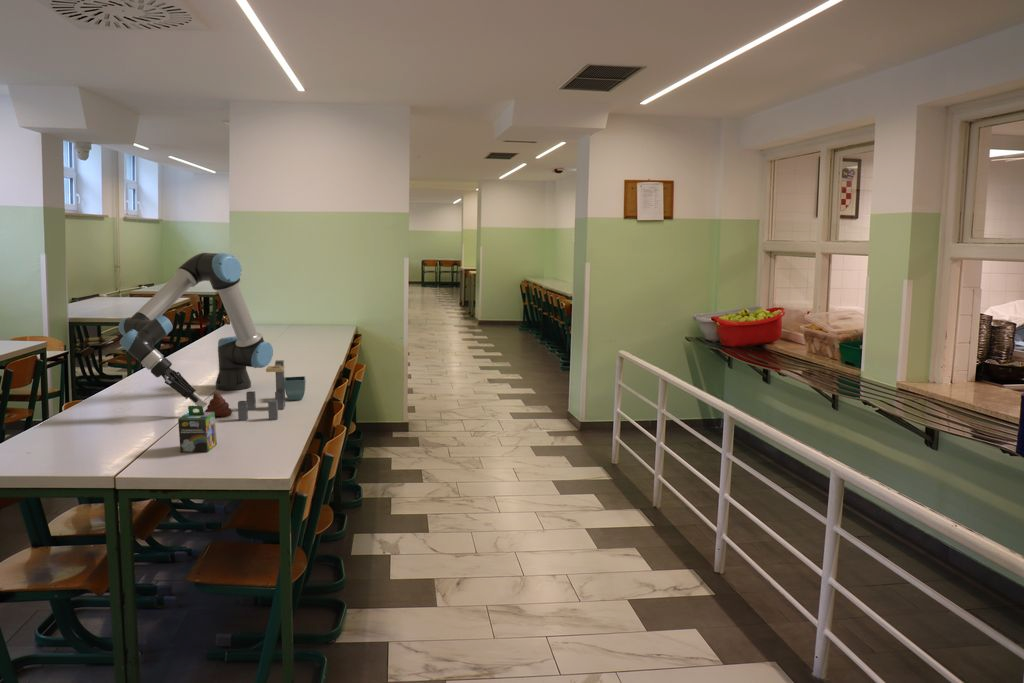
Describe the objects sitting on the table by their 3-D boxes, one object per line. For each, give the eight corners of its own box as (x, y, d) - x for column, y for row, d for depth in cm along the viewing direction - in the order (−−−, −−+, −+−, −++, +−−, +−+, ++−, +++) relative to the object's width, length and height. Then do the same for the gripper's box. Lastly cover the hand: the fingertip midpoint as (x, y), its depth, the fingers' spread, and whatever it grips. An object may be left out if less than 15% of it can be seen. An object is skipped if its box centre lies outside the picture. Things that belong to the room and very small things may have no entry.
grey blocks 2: (268, 420, 304) (268, 401, 303) (276, 408, 324) (276, 391, 322) (276, 419, 304) (276, 401, 303) (284, 407, 324) (283, 390, 323)
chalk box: (217, 445, 270) (215, 401, 268) (207, 452, 261) (205, 408, 258) (189, 444, 269) (187, 401, 267) (179, 452, 260) (176, 408, 258)
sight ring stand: (267, 415, 311) (265, 367, 308) (273, 406, 326) (272, 360, 323) (283, 415, 311) (282, 367, 309) (289, 406, 327) (287, 360, 324)
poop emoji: (203, 419, 305) (202, 395, 304) (205, 413, 313) (204, 390, 312) (231, 417, 308) (230, 393, 306) (232, 412, 316) (231, 389, 314)
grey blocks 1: (238, 420, 302) (237, 402, 301) (248, 408, 322) (247, 391, 321) (246, 420, 303) (246, 402, 302) (256, 408, 322) (255, 391, 321)
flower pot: (284, 402, 334) (283, 380, 333) (284, 397, 343) (283, 377, 342) (306, 401, 337) (305, 380, 336) (305, 396, 345) (305, 376, 344)
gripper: (155, 367, 310) (201, 409, 315) (144, 374, 298) (193, 417, 302) (169, 354, 310) (215, 396, 315) (158, 359, 298) (207, 403, 302)
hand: (204, 406), depth 309 cm, fingers closed
